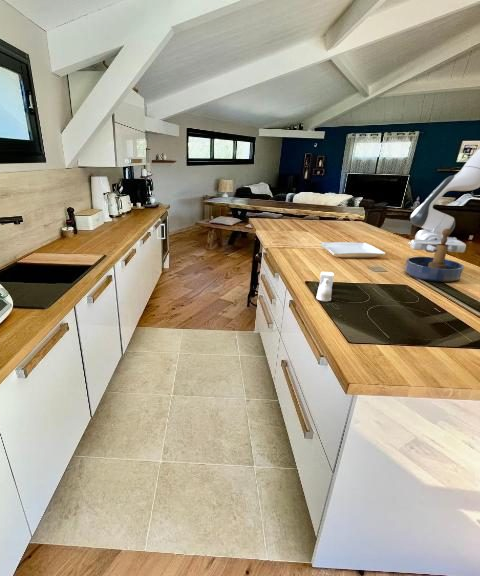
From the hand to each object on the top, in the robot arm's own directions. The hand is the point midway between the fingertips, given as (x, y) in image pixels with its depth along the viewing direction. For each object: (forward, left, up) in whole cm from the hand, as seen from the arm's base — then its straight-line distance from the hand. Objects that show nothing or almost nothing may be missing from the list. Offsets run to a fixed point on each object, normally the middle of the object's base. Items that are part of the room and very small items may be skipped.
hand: (442, 249), depth 137 cm
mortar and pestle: (0, -1, -9) cm, 9 cm away
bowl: (+2, 0, -12) cm, 12 cm away
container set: (+47, +37, -12) cm, 61 cm away
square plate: (+33, -32, -12) cm, 47 cm away
